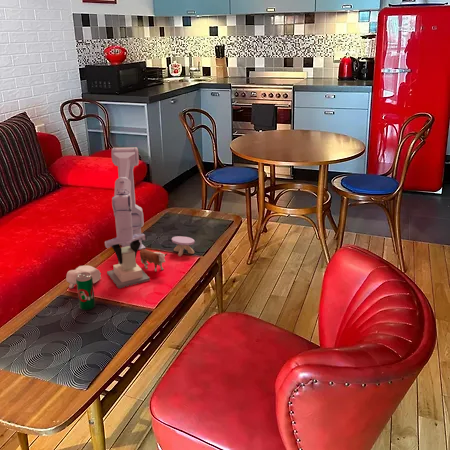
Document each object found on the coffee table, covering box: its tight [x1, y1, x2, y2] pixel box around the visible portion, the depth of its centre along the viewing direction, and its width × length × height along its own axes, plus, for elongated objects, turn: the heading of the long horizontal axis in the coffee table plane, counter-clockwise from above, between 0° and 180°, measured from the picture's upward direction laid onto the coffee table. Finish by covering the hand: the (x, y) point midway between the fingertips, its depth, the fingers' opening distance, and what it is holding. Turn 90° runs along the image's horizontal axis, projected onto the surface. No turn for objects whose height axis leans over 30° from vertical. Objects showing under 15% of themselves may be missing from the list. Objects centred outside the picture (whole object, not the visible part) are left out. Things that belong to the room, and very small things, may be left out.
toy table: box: [171, 235, 196, 257], centre depth 206 cm, size 10×9×6 cm
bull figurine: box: [139, 248, 168, 272], centre depth 191 cm, size 4×13×8 cm, turn 53°
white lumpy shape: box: [65, 264, 102, 289], centre depth 178 cm, size 9×8×15 cm
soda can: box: [76, 272, 96, 311], centre depth 164 cm, size 5×5×12 cm
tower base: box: [106, 263, 151, 289], centre depth 185 cm, size 13×12×4 cm
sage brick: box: [118, 246, 137, 270], centre depth 183 cm, size 6×4×6 cm
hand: (127, 261), depth 184 cm, fingers closed on sage brick, 4 cm apart
